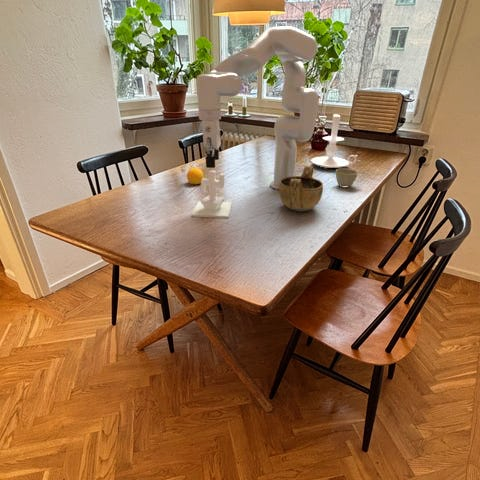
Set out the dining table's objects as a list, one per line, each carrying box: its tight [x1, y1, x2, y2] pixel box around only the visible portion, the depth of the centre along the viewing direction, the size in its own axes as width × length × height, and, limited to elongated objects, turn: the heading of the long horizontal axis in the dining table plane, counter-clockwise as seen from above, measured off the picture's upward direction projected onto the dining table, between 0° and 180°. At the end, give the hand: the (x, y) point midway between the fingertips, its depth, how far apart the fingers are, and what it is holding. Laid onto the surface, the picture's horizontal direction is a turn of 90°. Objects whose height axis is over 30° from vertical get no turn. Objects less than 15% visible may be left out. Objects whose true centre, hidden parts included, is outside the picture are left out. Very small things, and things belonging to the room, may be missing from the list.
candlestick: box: [310, 113, 358, 169], centre depth 175 cm, size 21×25×28 cm
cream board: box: [191, 200, 233, 219], centre depth 128 cm, size 14×14×1 cm
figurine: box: [199, 169, 226, 211], centre depth 125 cm, size 7×9×15 cm
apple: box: [186, 167, 205, 185], centre depth 155 cm, size 8×8×8 cm
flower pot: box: [335, 168, 359, 187], centre depth 153 cm, size 10×10×7 cm
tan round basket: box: [278, 165, 324, 212], centre depth 127 cm, size 22×17×15 cm
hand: (212, 163), depth 120 cm, fingers open, 9 cm apart
